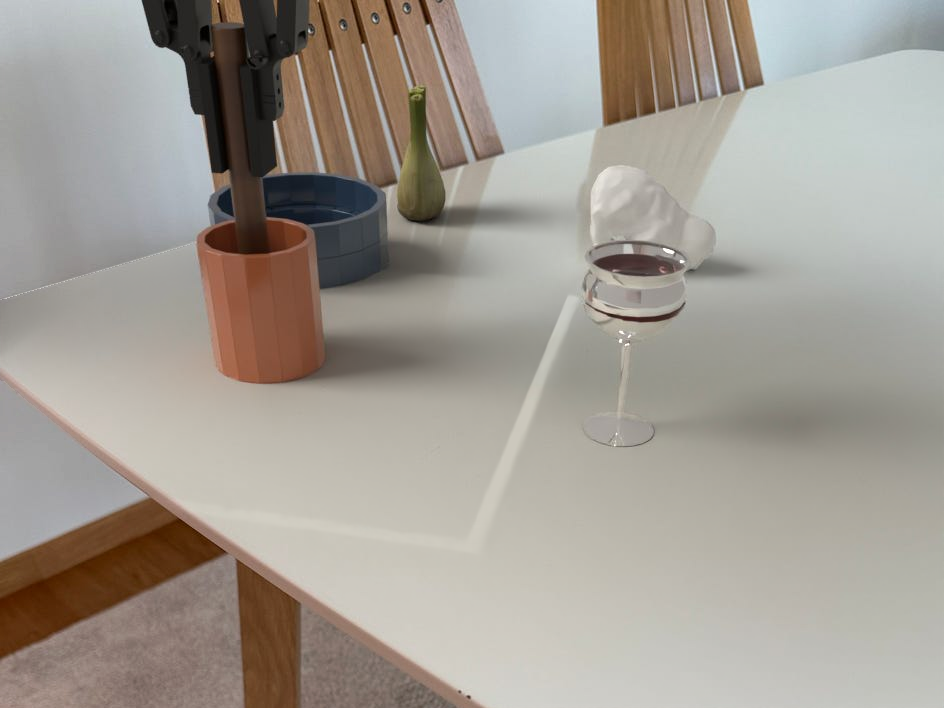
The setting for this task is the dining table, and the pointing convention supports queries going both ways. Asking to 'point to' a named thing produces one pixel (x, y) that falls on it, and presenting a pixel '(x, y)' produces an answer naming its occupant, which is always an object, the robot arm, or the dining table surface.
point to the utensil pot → (263, 303)
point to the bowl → (326, 220)
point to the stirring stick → (239, 139)
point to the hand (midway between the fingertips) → (244, 168)
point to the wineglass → (631, 315)
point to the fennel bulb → (419, 167)
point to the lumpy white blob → (646, 214)
